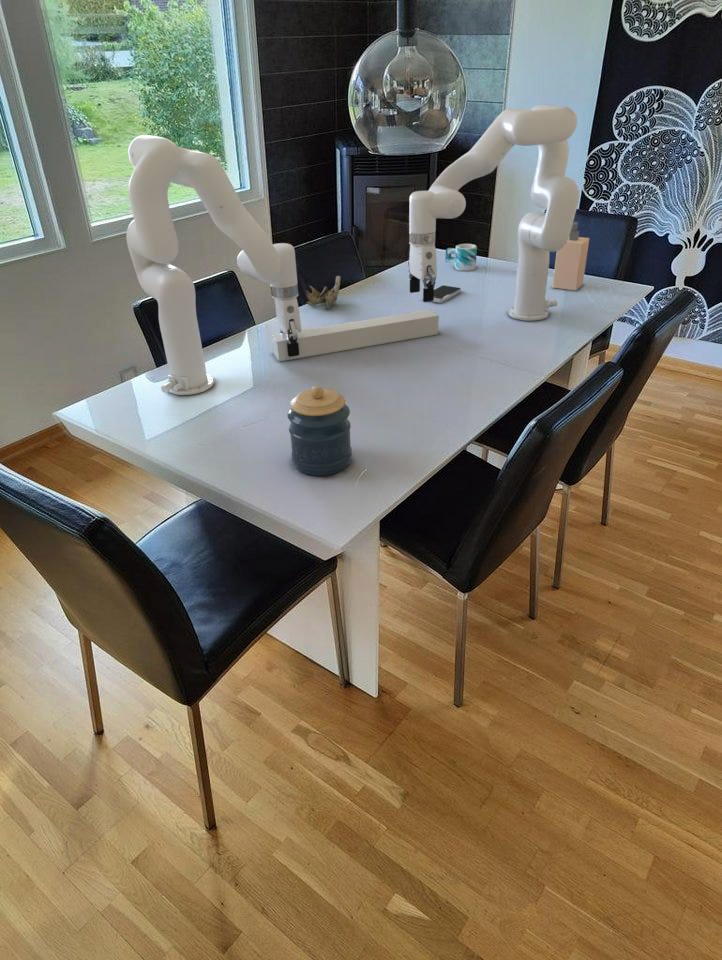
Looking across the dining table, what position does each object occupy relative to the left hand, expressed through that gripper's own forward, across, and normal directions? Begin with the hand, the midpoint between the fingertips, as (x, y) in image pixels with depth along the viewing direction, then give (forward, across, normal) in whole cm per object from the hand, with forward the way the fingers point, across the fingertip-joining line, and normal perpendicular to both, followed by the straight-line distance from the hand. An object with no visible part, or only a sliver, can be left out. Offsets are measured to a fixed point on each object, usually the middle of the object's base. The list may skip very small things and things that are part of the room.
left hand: (290, 350), depth 196 cm
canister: (+1, -61, +10) cm, 62 cm away
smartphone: (+1, +30, -64) cm, 70 cm away
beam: (+1, 0, -21) cm, 21 cm away
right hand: (-10, 0, -42) cm, 43 cm away
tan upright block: (+1, +19, -107) cm, 109 cm away
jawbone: (+1, +40, -24) cm, 46 cm away
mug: (+1, +59, -86) cm, 105 cm away
